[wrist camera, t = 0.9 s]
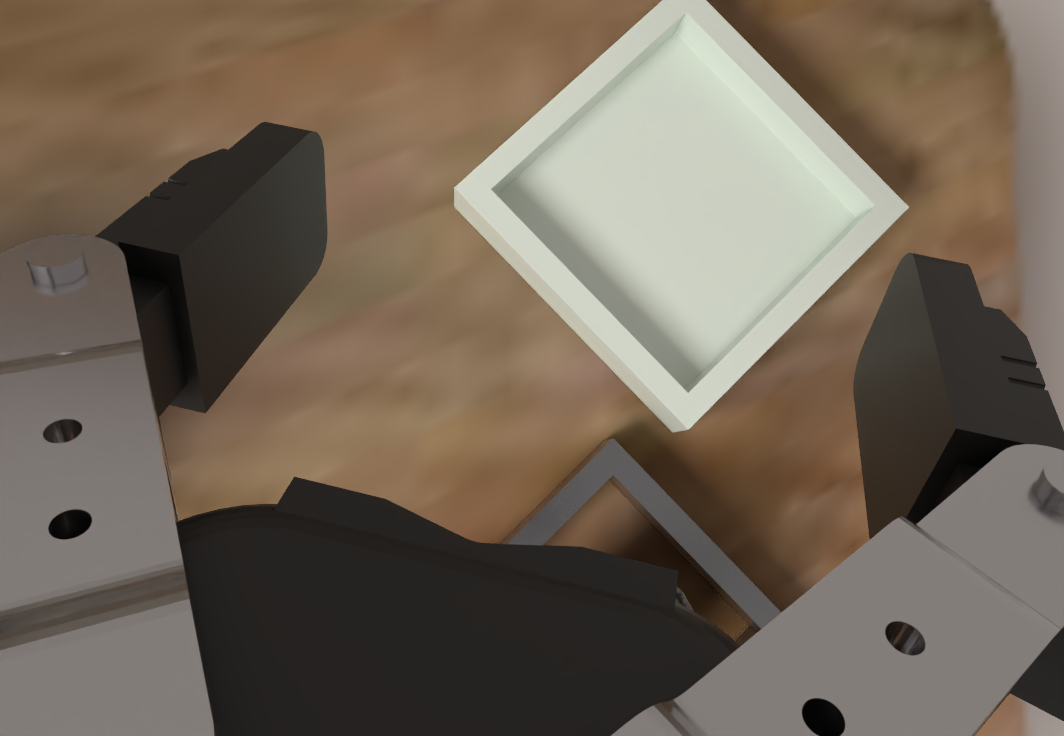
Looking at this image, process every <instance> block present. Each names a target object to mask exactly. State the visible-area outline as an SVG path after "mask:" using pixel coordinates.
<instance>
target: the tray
mask: <svg viewBox="0 0 1064 736" xmlns="http://www.w3.org/2000/svg"><path fill="white" fill-rule="evenodd" d="M454 207H455V208H456V209H457V210H458V211H459V212H460V213H461V214H462V215H463V216H464V217H465V219H466V220H467V221H468V222H469V223H470V224H471V225H472V226H473V227H474V228H475V229H476V230H477V231H478V232H479V233H480V234H481V235H482V236H483V237H484V238H485V239H486V240H487V241H488V242H489V243H490V244H491V245H492V246H493V247H494V249H495V250H496V251H497V252H498V253H499V254H500V255H501V256H502V257H503V258H504V259H505V260H506V261H507V262H508V263H509V264H510V265H511V266H512V267H513V268H514V269H515V270H516V271H517V272H518V273H519V274H520V275H521V276H522V277H523V279H524V280H525V281H526V282H527V283H528V284H529V285H530V286H531V287H532V288H533V289H534V290H535V291H536V292H537V293H538V294H539V295H540V296H541V297H542V298H543V299H544V300H545V301H546V302H547V303H548V304H549V305H550V306H551V308H552V309H553V310H554V311H555V312H556V313H557V314H558V315H559V316H560V317H561V318H562V319H563V320H564V321H565V322H566V323H567V324H568V325H569V326H570V327H571V328H572V329H573V330H574V331H575V332H576V333H577V334H578V335H579V336H580V338H581V339H582V340H583V341H584V342H585V343H586V344H587V345H588V346H589V347H590V348H591V349H592V350H593V351H594V352H595V353H596V354H597V355H598V356H599V357H600V358H601V359H602V360H603V361H604V362H605V363H606V364H607V365H608V367H609V368H610V369H611V370H612V371H613V372H614V373H615V374H616V375H617V376H618V377H619V378H620V379H621V380H622V381H623V382H624V383H625V384H626V385H627V386H628V387H629V388H630V389H631V390H632V391H633V392H634V393H635V394H636V395H637V397H638V398H639V399H640V400H641V401H642V402H643V403H644V404H645V405H646V406H647V407H648V408H649V409H650V410H651V411H652V412H653V413H654V414H655V415H656V416H657V417H658V418H659V419H660V420H661V421H662V422H663V423H664V424H665V425H666V427H667V428H668V429H669V430H670V431H671V432H678V431H684V430H689V429H690V428H691V427H692V426H693V425H694V424H695V423H696V422H697V421H698V420H699V419H700V418H701V417H702V416H703V415H704V414H705V413H706V412H707V411H708V410H709V409H710V408H711V407H712V406H713V405H714V403H715V402H716V401H717V400H718V399H719V398H720V397H721V396H722V395H723V394H724V393H725V392H726V391H727V390H728V389H729V388H730V387H731V386H732V385H733V384H734V383H735V382H736V381H737V380H738V379H739V378H740V377H741V376H742V375H743V374H744V373H745V372H746V371H747V370H748V369H749V368H750V367H751V366H752V365H753V364H754V363H755V362H756V361H757V360H758V359H759V358H760V357H761V356H762V355H763V354H764V353H765V352H766V351H767V350H768V349H769V348H770V347H771V346H772V345H773V344H774V343H775V342H776V341H777V340H778V339H779V338H780V337H781V336H782V335H783V334H784V333H785V332H786V331H787V330H788V329H789V328H790V327H791V326H792V325H793V324H794V323H795V322H796V321H797V320H798V319H799V318H800V317H801V316H802V315H803V314H804V313H805V312H806V311H807V310H808V309H809V308H810V307H811V306H812V305H813V304H814V303H815V302H816V301H817V300H818V299H819V298H820V297H821V296H822V295H823V294H824V293H825V292H826V291H827V290H828V289H829V287H830V286H831V285H832V284H833V283H834V282H835V281H836V280H837V279H838V278H839V277H840V276H841V275H842V274H843V273H844V272H845V271H846V270H847V269H848V268H849V267H850V266H851V265H852V264H853V263H854V262H855V261H856V260H857V259H858V258H859V257H860V256H861V255H862V254H863V253H864V252H865V251H866V250H867V249H868V248H869V247H870V246H871V245H872V244H873V243H874V242H875V241H876V240H877V239H878V238H879V237H880V236H881V235H882V234H883V233H884V232H885V231H886V230H887V229H888V228H889V227H890V226H891V225H892V224H893V223H894V222H895V221H896V220H897V219H898V218H899V217H900V216H901V215H902V214H903V213H904V212H905V211H906V210H907V209H908V208H909V207H908V206H907V205H906V204H905V202H904V201H903V200H902V199H901V198H900V197H899V196H898V195H897V194H896V193H895V192H894V191H893V190H892V189H891V188H890V187H889V186H888V185H887V184H886V183H885V182H884V181H883V180H882V179H881V178H880V177H879V176H878V175H877V174H876V173H875V172H874V171H873V170H872V169H871V168H870V167H869V166H868V165H867V164H866V163H865V162H864V161H863V160H862V159H861V158H860V157H859V156H858V155H857V154H856V153H855V151H854V150H853V149H852V148H851V147H850V146H849V145H848V144H847V143H846V142H845V141H844V140H843V139H842V138H841V137H840V136H839V135H838V134H837V133H836V132H835V131H834V130H833V129H832V128H831V127H830V126H829V125H828V124H827V123H826V122H825V121H824V120H823V119H822V118H821V117H820V116H819V115H818V114H817V113H816V112H815V111H814V110H813V109H812V108H811V107H810V106H809V105H808V104H807V103H806V102H805V101H804V99H803V98H802V97H801V96H800V95H799V94H798V93H797V92H796V91H795V90H794V89H793V88H792V87H791V86H790V85H789V84H788V83H787V82H786V81H785V80H784V79H783V78H782V77H781V76H780V75H779V74H778V73H777V72H776V71H775V70H774V69H773V68H772V67H771V66H770V65H769V64H768V63H767V62H766V61H765V60H764V59H763V58H762V57H761V56H760V55H759V54H758V53H757V52H756V51H755V50H754V49H753V47H752V46H751V45H750V44H749V43H748V42H747V41H746V40H745V39H744V38H743V37H742V36H741V35H740V34H739V33H738V32H737V31H736V30H735V29H734V28H733V27H732V26H731V25H730V24H729V23H728V22H727V21H726V20H725V19H724V18H723V17H722V16H721V15H720V14H719V13H718V12H717V11H716V10H715V9H714V8H713V7H712V6H711V5H710V4H709V3H708V2H707V1H706V0H662V1H661V2H660V3H659V4H658V5H657V6H656V7H654V8H653V9H652V10H651V11H650V12H649V13H648V14H647V15H646V16H644V17H643V18H642V19H641V20H640V21H639V22H638V23H637V24H636V25H634V26H633V27H632V28H631V29H630V30H629V31H628V32H627V33H626V34H624V35H623V36H622V37H621V38H620V39H619V40H618V41H617V42H616V43H614V44H613V45H612V46H611V47H610V48H609V49H608V50H607V51H606V52H604V53H603V54H602V55H601V56H600V57H599V58H598V59H597V60H596V61H594V62H593V63H592V64H591V65H590V66H589V67H588V68H587V69H586V70H584V71H583V72H582V73H581V74H580V75H579V76H578V77H577V78H576V79H574V80H573V81H572V82H571V83H570V84H569V85H568V86H567V87H566V88H565V89H563V90H562V91H561V92H560V93H559V94H558V95H557V96H556V97H555V98H553V99H552V100H551V101H550V102H549V103H548V104H547V105H546V106H545V107H543V108H542V109H541V110H540V111H539V112H538V113H537V114H536V115H535V116H533V117H532V118H531V119H530V120H529V121H528V122H527V123H526V124H525V125H523V126H522V127H521V128H520V129H519V130H518V131H517V132H516V133H515V134H513V135H512V136H511V137H510V138H509V139H508V140H507V141H506V142H505V143H503V144H502V145H501V146H500V147H499V148H498V149H497V150H496V151H495V152H493V153H492V154H491V155H490V156H489V157H488V158H487V159H486V160H485V161H483V162H482V163H481V164H480V165H479V166H478V167H477V168H476V169H475V170H473V171H472V172H471V173H470V174H469V175H468V176H467V177H466V178H465V179H463V180H462V181H461V182H460V183H459V184H458V185H457V186H456V187H455V188H454Z"/></svg>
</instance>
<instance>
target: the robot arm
mask: <svg viewBox="0 0 1064 736" xmlns="http://www.w3.org/2000/svg"><path fill="white" fill-rule="evenodd" d="M326 243H327V212H326V189H325V166H324V149H323V143H322V140H321V138H320V136H319V134H318V133H316V132H313V131H308V130H303V129H298V128H293V127H288V126H283V125H278V124H273V123H268V122H263V123H261V124H259V125H258V126H257V127H255V128H254V129H253V130H252V131H250V132H249V133H248V134H247V135H246V136H244V137H243V138H242V139H241V140H240V141H238V142H237V143H236V144H235V145H234V146H232V147H231V148H230V149H229V150H227V149H221V150H218V151H215V152H213V153H210V154H207V155H205V156H202V157H199V158H197V159H194V160H191V161H189V162H188V163H187V164H186V165H184V166H183V167H182V168H181V169H179V170H178V171H177V172H176V173H174V174H173V175H172V176H171V177H169V178H168V183H167V182H163V183H162V184H161V185H159V186H158V187H157V188H156V189H154V190H153V191H152V192H150V197H147V196H145V197H144V198H143V199H142V200H140V201H139V202H138V203H137V204H135V205H134V206H133V207H132V208H130V209H129V210H128V211H127V212H125V213H124V214H123V215H122V216H120V217H119V218H118V219H117V220H115V221H114V222H113V223H112V224H110V225H109V226H108V227H107V228H105V229H104V230H103V231H102V232H100V233H99V234H98V235H96V236H95V237H94V236H89V235H79V234H64V235H53V236H47V237H41V238H37V239H33V240H30V241H27V242H24V243H21V244H19V245H16V246H14V247H12V248H10V249H9V250H7V251H5V252H3V253H2V254H1V255H0V736H975V735H976V733H977V732H978V731H979V730H980V729H981V727H982V726H983V725H984V724H985V723H986V721H987V720H988V719H989V718H990V717H991V715H992V714H993V713H994V712H995V711H996V709H997V708H998V707H999V706H1000V705H1001V703H1002V702H1003V701H1004V700H1005V699H1006V697H1007V696H1008V695H1009V694H1010V693H1011V694H1013V695H1015V696H1016V697H1018V698H1020V699H1022V700H1024V701H1026V702H1028V703H1030V704H1032V705H1034V706H1036V707H1038V708H1039V709H1041V710H1043V711H1045V712H1047V713H1049V714H1051V715H1053V716H1055V717H1057V718H1059V719H1061V720H1062V721H1064V431H1063V428H1062V426H1061V423H1060V421H1059V418H1058V415H1057V413H1056V410H1055V408H1054V405H1053V403H1052V400H1051V398H1050V395H1049V393H1048V391H1046V390H1044V388H1045V382H1044V380H1043V377H1042V374H1041V372H1040V369H1039V368H1036V364H1037V362H1036V359H1035V356H1034V354H1033V352H1032V349H1031V346H1030V344H1029V341H1028V339H1027V336H1026V335H1025V334H1024V333H1023V332H1022V331H1021V330H1020V329H1019V328H1018V327H1017V326H1016V325H1015V324H1014V323H1013V322H1012V321H1011V320H1010V319H1009V318H1008V317H1007V316H1006V315H1005V314H1004V313H1003V312H1002V310H999V309H994V308H989V307H985V306H984V305H983V302H982V299H981V296H980V294H979V291H978V288H977V285H976V282H975V279H974V276H973V273H972V270H971V268H970V266H969V265H967V264H963V263H958V262H953V261H948V260H943V259H938V258H933V257H928V256H923V255H918V254H913V253H908V254H906V255H905V256H904V257H903V258H902V260H901V261H900V263H899V265H898V267H897V269H896V271H895V273H894V276H893V278H892V280H891V282H890V285H889V287H888V289H887V292H886V294H885V296H884V299H883V301H882V303H881V306H880V308H879V310H878V312H877V315H876V317H875V319H874V322H873V324H872V326H871V329H870V331H869V333H868V335H867V338H866V340H865V342H864V345H863V347H862V350H861V353H860V355H859V359H858V362H857V367H856V371H855V377H854V390H853V391H854V402H855V411H856V420H857V429H858V438H859V447H860V456H861V465H862V474H863V483H864V492H865V501H866V510H867V519H868V528H869V537H870V540H869V541H868V542H867V543H865V544H864V545H863V546H862V547H860V548H859V549H858V550H857V551H856V552H854V553H853V554H852V555H851V556H850V557H848V558H847V559H846V560H845V561H844V562H842V563H841V564H840V565H839V566H837V567H836V568H835V569H834V570H833V571H831V572H830V573H829V574H828V575H827V576H825V577H824V578H823V579H822V580H820V581H819V582H818V583H817V584H816V585H814V586H813V587H812V588H811V589H810V590H808V591H807V592H806V593H805V594H803V595H802V596H801V597H800V598H799V599H797V600H796V601H795V602H794V603H793V604H791V605H790V606H789V607H788V608H787V609H785V610H784V611H783V612H782V613H780V614H779V615H778V616H777V617H776V618H774V619H773V620H772V621H771V622H770V623H768V624H767V625H766V626H765V627H763V628H762V629H761V630H760V631H759V632H757V633H756V634H755V635H754V636H753V637H751V638H750V639H749V640H748V641H746V642H745V643H744V644H743V645H742V646H740V645H739V644H738V643H737V642H736V641H735V640H734V639H733V638H731V637H730V636H729V635H727V634H726V633H725V632H723V631H722V630H721V629H720V628H718V627H717V626H716V625H714V624H713V623H712V622H710V621H708V620H707V619H705V618H704V617H702V616H700V615H699V614H697V613H696V612H694V611H692V610H691V609H689V608H687V607H685V606H683V605H681V604H679V603H677V602H675V599H676V590H677V581H678V572H679V571H678V570H674V569H670V568H665V567H661V566H657V565H653V564H649V563H645V562H641V561H637V560H633V559H629V558H625V557H620V556H616V555H612V554H608V553H604V552H600V551H596V550H592V549H588V548H584V547H572V546H544V545H516V544H489V543H478V542H474V541H471V540H468V539H466V538H464V537H462V536H460V535H458V534H455V533H453V532H451V531H449V530H447V529H445V528H443V527H441V526H439V525H437V524H435V523H433V522H431V521H429V520H427V519H425V518H423V517H421V516H419V515H417V514H415V513H413V512H411V511H409V510H407V509H405V508H403V507H401V506H399V505H396V504H394V503H392V502H390V501H388V500H386V499H383V498H379V497H375V496H371V495H367V494H363V493H359V492H354V491H350V490H346V489H342V488H338V487H334V486H330V485H326V484H322V483H318V482H314V481H309V480H305V479H301V478H297V477H294V478H293V480H292V481H291V483H290V485H289V486H288V488H287V489H286V491H285V493H284V494H283V496H282V498H281V499H280V501H279V502H278V504H257V505H242V506H236V507H230V508H223V509H218V510H214V511H210V512H206V513H202V514H198V515H195V516H192V517H189V518H186V519H183V520H180V519H179V514H178V509H177V504H176V499H175V494H174V489H173V484H172V479H171V474H170V469H169V464H168V459H167V454H166V449H165V444H164V439H163V434H162V429H161V424H160V420H159V416H160V415H161V414H162V413H163V411H164V410H165V409H166V408H167V407H168V406H169V405H173V406H177V407H181V408H185V409H190V410H194V411H198V412H202V413H206V412H207V411H208V409H209V408H210V407H211V406H212V404H213V403H214V402H215V401H216V399H217V398H218V397H219V396H220V394H221V393H222V392H223V391H224V389H225V388H226V387H227V386H228V384H229V383H230V382H231V380H232V379H233V378H234V377H235V375H236V374H237V373H238V372H239V370H240V369H241V368H242V367H243V365H244V364H245V363H246V362H247V360H248V359H249V358H250V357H251V355H252V354H253V353H254V352H255V350H256V349H257V348H258V346H259V345H260V344H261V343H262V341H263V340H264V339H265V338H266V336H267V335H268V334H269V333H270V331H271V330H272V329H273V328H274V326H275V325H276V324H277V323H278V321H279V320H280V319H281V317H282V316H283V315H284V314H285V312H286V311H287V310H288V309H289V307H290V306H291V305H292V304H293V302H294V301H295V300H296V299H297V297H298V296H299V295H300V294H301V292H302V291H303V290H304V289H305V287H306V286H307V285H308V283H309V282H310V281H311V280H312V278H313V277H314V276H315V275H316V273H317V272H318V270H319V268H320V266H321V263H322V260H323V258H324V254H325V249H326Z"/></svg>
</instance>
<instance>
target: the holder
mask: <svg viewBox="0 0 1064 736" xmlns="http://www.w3.org/2000/svg"><path fill="white" fill-rule="evenodd" d="M608 480H610V481H611V482H612V483H613V484H614V485H615V486H616V487H617V488H618V489H619V491H620V492H621V493H622V494H623V495H624V496H625V497H626V498H627V499H628V500H629V501H630V502H631V503H632V504H633V505H634V506H635V507H636V508H637V509H638V510H639V511H640V512H641V513H642V514H643V515H644V516H645V518H646V519H647V520H648V521H649V522H650V523H651V524H652V525H653V526H654V527H655V528H656V529H657V530H658V531H659V532H660V533H661V534H662V535H663V536H664V537H665V538H666V539H667V540H668V541H669V542H670V543H671V545H672V546H673V547H674V548H675V549H676V550H677V551H678V552H679V553H680V554H681V555H682V556H683V557H684V558H685V559H686V560H687V561H688V562H689V563H690V564H691V565H692V566H693V567H694V568H695V569H696V570H697V572H698V573H699V574H700V575H701V576H702V577H703V578H704V579H705V580H706V581H707V582H708V583H709V584H710V585H711V586H712V587H713V588H714V589H715V590H716V591H717V592H718V593H719V594H720V595H721V596H722V597H723V599H724V600H725V601H726V602H727V603H728V604H729V605H730V606H731V607H732V608H733V609H734V610H735V611H736V612H737V613H738V614H739V615H740V616H741V617H742V618H743V619H744V620H745V621H746V622H747V623H748V624H749V626H750V627H749V628H748V629H747V630H746V631H745V632H744V633H743V634H742V635H741V636H740V637H739V639H738V640H737V641H736V642H737V643H738V644H739V645H740V646H742V645H743V644H744V643H745V642H746V641H748V640H749V639H750V638H751V637H753V636H754V635H755V634H756V633H757V632H759V631H760V630H761V629H762V628H763V627H765V626H766V625H767V624H768V623H770V622H771V621H772V620H773V619H774V618H776V617H777V616H778V615H779V614H780V613H781V612H780V610H779V609H778V608H777V607H776V606H775V605H774V604H773V603H772V602H771V601H770V600H769V599H768V598H767V597H766V596H765V595H764V594H763V593H762V592H761V591H760V590H759V589H758V588H757V587H756V586H755V585H754V584H753V582H752V581H751V580H750V579H749V578H748V577H747V576H746V575H745V574H744V573H743V572H742V571H741V570H740V569H739V568H738V567H737V566H736V565H735V564H734V563H733V562H732V561H731V560H730V559H729V558H728V557H727V556H726V554H725V553H724V552H723V551H722V550H721V549H720V548H719V547H718V546H717V545H716V544H715V543H714V542H713V541H712V540H711V539H710V538H709V537H708V536H707V535H706V534H705V533H704V532H703V531H702V530H701V529H700V528H699V526H698V525H697V524H696V523H695V522H694V521H693V520H692V519H691V518H690V517H689V516H688V515H687V514H686V513H685V512H684V511H683V510H682V509H681V508H680V507H679V506H678V505H677V504H676V503H675V502H674V501H673V500H672V498H671V497H670V496H669V495H668V494H667V493H666V492H665V491H664V490H663V489H662V488H661V487H660V486H659V485H658V484H657V483H656V482H655V481H654V480H653V479H652V478H651V477H650V476H649V475H648V474H647V473H646V472H645V470H644V469H643V468H642V467H641V466H640V465H639V464H638V463H637V462H636V461H635V460H634V459H633V458H632V457H631V456H630V455H629V454H628V453H627V452H626V451H625V450H624V449H623V448H622V447H621V446H620V445H619V444H618V442H617V441H616V440H615V439H614V438H612V439H606V440H604V441H603V442H602V443H601V444H600V445H599V446H598V447H597V448H596V449H595V450H594V451H593V452H592V453H591V454H590V455H589V456H588V457H587V458H586V459H585V460H584V461H583V462H582V463H581V464H580V465H579V466H578V467H577V468H576V469H575V470H574V471H573V472H572V473H571V474H570V475H569V476H568V477H567V478H566V479H564V480H563V481H562V482H561V483H560V484H559V485H558V486H557V487H556V488H555V489H554V490H553V491H552V492H551V493H550V494H549V495H548V496H547V497H546V498H545V499H544V500H543V501H542V502H541V503H540V504H539V505H538V506H537V507H536V508H535V509H534V510H533V511H532V512H531V513H530V514H529V515H528V516H527V517H526V518H525V519H524V520H523V521H522V522H521V523H520V524H519V525H518V526H517V527H516V528H515V529H514V530H513V531H512V532H511V533H510V534H509V535H508V536H507V537H506V538H505V539H504V540H503V541H502V542H501V543H500V544H516V545H544V544H545V543H546V542H547V541H548V540H549V539H550V538H551V537H552V536H553V535H554V534H555V533H556V532H557V531H558V530H559V529H560V528H561V527H562V526H563V525H564V524H565V523H566V522H567V521H568V520H569V519H570V518H571V517H572V516H573V515H574V514H575V513H576V512H577V511H578V510H579V509H580V508H581V507H582V506H583V505H584V504H585V503H586V502H587V501H588V500H589V499H590V498H591V497H592V496H593V495H594V494H595V493H596V492H597V491H598V490H599V489H600V488H601V487H602V486H603V485H604V484H605V483H606V482H607V481H608Z"/></svg>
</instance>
